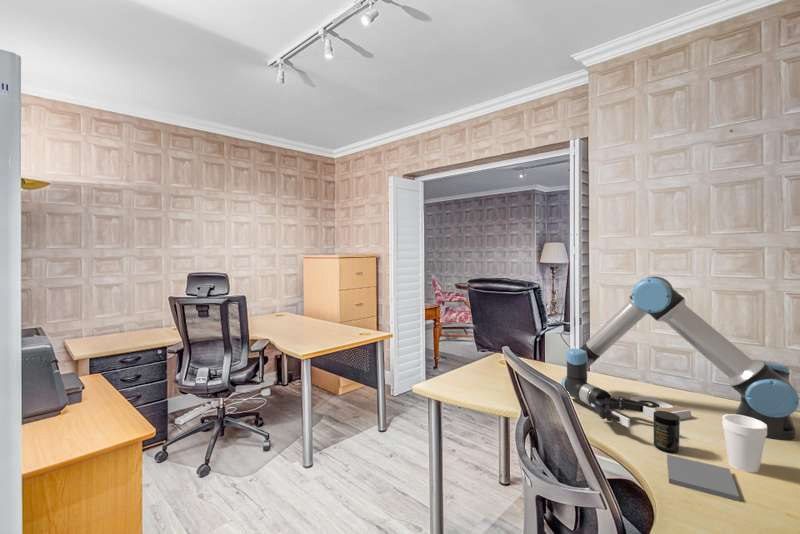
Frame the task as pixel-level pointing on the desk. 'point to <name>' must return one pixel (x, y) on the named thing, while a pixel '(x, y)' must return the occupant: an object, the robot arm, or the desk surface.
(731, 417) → the foam cup
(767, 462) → the desk surface
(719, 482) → the mat
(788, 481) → the desk surface
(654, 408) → the record player
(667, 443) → the supplement container
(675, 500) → the desk surface
